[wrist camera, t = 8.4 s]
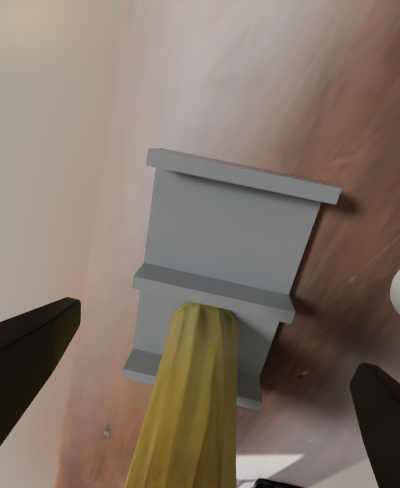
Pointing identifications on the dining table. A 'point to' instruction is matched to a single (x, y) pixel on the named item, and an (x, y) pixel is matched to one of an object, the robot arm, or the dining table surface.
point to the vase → (191, 406)
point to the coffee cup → (395, 292)
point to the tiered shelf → (222, 255)
